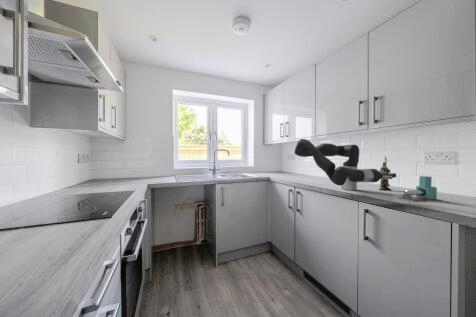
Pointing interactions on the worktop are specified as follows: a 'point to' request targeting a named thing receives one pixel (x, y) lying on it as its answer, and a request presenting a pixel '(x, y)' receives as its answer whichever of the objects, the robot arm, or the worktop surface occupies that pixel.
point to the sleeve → (425, 187)
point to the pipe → (417, 193)
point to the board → (420, 199)
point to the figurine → (384, 182)
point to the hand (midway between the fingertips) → (395, 175)
